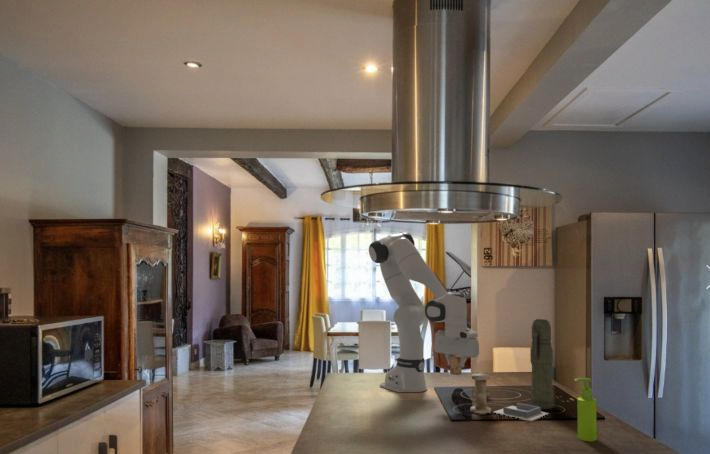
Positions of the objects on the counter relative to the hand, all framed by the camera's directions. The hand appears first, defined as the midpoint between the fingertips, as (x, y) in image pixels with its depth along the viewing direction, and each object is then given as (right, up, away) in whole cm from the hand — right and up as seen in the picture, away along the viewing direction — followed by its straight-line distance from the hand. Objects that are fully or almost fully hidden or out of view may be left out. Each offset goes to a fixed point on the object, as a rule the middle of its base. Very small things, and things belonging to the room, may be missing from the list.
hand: (456, 366), depth 241 cm
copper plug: (0, -3, 0) cm, 3 cm away
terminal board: (+23, -16, -13) cm, 31 cm away
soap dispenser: (+36, -14, -44) cm, 58 cm away
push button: (+14, -17, +17) cm, 28 cm away
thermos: (+35, -16, -1) cm, 39 cm away
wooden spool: (+8, -16, -9) cm, 20 cm away
